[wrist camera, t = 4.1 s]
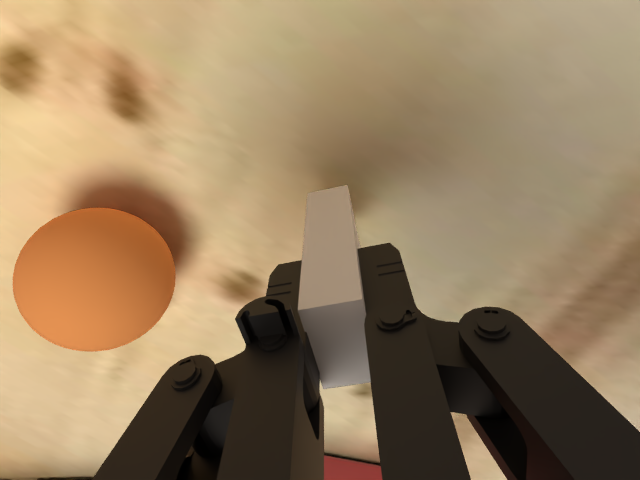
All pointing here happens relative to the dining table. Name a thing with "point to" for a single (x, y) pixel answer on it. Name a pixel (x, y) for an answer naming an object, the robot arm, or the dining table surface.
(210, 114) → the dining table surface
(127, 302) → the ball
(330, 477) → the puzzle cube
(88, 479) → the candle
